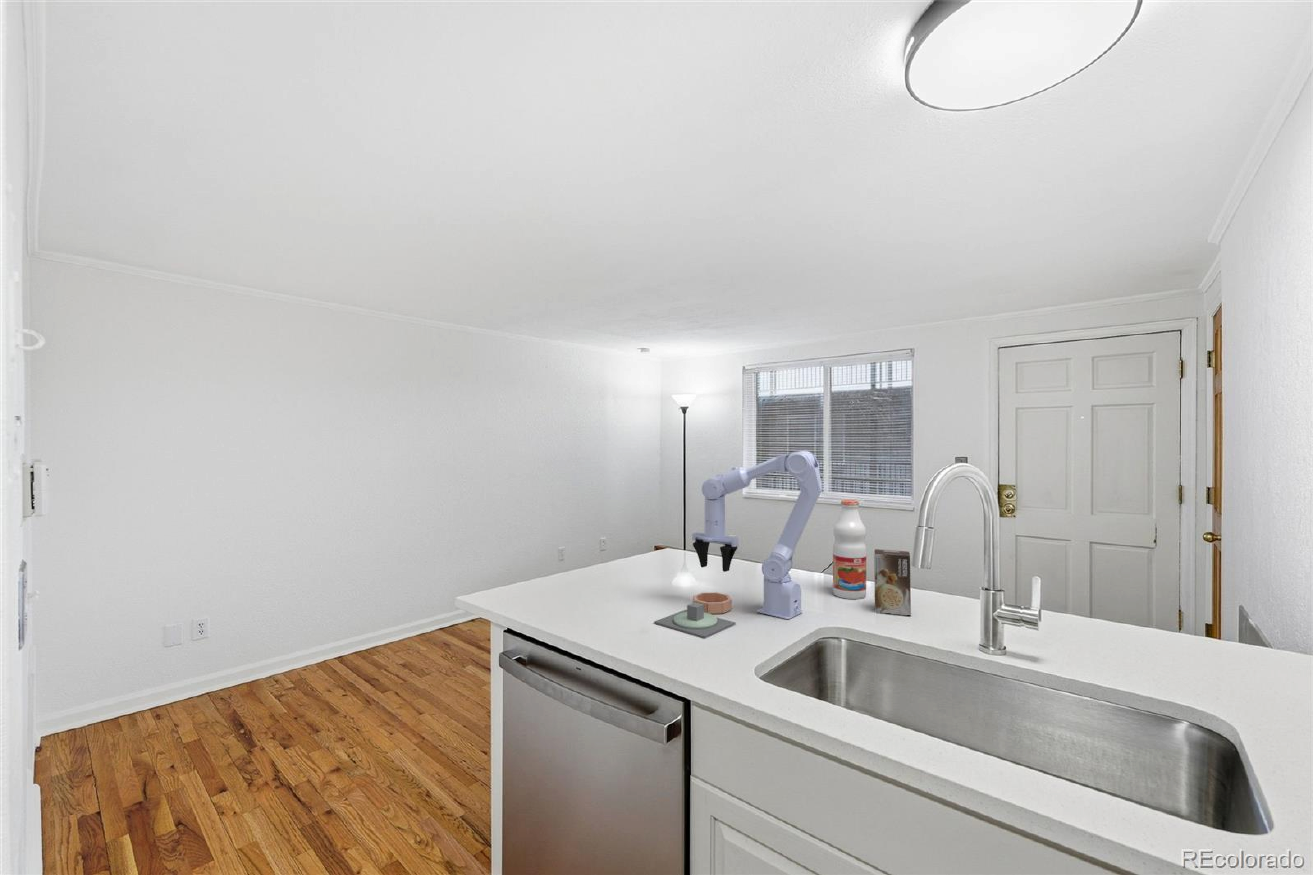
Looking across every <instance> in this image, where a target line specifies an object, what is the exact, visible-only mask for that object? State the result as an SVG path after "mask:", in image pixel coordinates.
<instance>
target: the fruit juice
mask: <svg viewBox="0 0 1313 875" xmlns="http://www.w3.org/2000/svg"><path fill="white" fill-rule="evenodd" d="M859 504H860V503H859V501H858V500H856V499H855V500H854V499H843V500H840V507H841V511H840V514H839V515H838V516H839V517H838V518H837V520H836V522H835V524H834V526H833V536H834V542H833V547H832V593H833V595H834V596H835V595H836V597H838V598H841V599H848V600H861V599H864V598H865V597H866V595H867V546H866V543H865V539H866V536H867V528H866V526H865V525H864V523H863V521H862V518H861V516H860V513H859V510H858V507H859Z"/></svg>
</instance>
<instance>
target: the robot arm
mask: <svg viewBox="0 0 1313 875" xmlns="http://www.w3.org/2000/svg"><path fill="white" fill-rule="evenodd" d="M815 456H816V455H814V454H813V452H811V451H808V450H805V449H803V450H799V451H794V452H791V453H787V454H783V455H779V456H775V457H773V458H770V459H768V460H766V461H764V462H761V463H759V464H756V465H753V466H752V467H749V468H745V467H743V466H739V467H738V466H733V467H732V468H731V470H729V471H726V472H724V473H723V474H722V472H721V473H717V474H716V477H710V478H707V480H705V481H704V482H703V484H702V485H701V493H702V495H703V497H704V533H703V532H702V533H701V532H694V533H692V537H691V538H692V539H691V540H692V541H694V542H693V543H692V547H693V548H694V550H695V551H696V554H697V557H698V559H699V564H700V567H701V568H705V567H707V566H708V555H709V554H708V553H709V547H710V543H711V544H715V545H716V544H717V545H723V546H720V547H719V550H720V553H721V561H722V564H721V566H722V572H723V573H725V572H729V571H730V568H731V565H732V561H733V557H734V555H735V553H736V551H737V549H738V547H739V539H738V538H735V537H731V536H727V535H726V502H725V501H726V500H725V498H726V495H730V494H732V493H735V492H737V491H740V490H742V489H745V488H747V487H749V486H750V484H751V482H752V481H753V480H754V479H757V478H760V477H763V476H766V475H768V474H770V473H771V474H772V473H774V472H781V473H787V472H788V473H789V474H790V475H791V477H793V478H794V479H795V480H796V483H797V485H798V487H799V488H800V489H799V490H800V492H799V495H798V497H797V499H796V501H795V504H794V506H793V508H792V510H791V511H790V512H791V513H790V514H789V516H788V518H787V521H786V523H785V525H784V528H783V530H782V533H781V534H780V537H779V539H778V541H777V543H776V544H775V546H774V548H773V550H772V552H771V553H770V556H769V557H768V558H766V559H765V560H764V561H763V562H762V564H761V572H762V575H763V607H761V608H759V609H757V610H756V611H757V613H760V614H764V615H768V616H773V617H776V618H781V619H785V620H789V619H793V618H794V617H796V616H798V615H801V614H802V613H803V610H802V588H801V585H800V584H799V583H798V582H795V581H793V580H792V577H791V574H790V573H789V572H790V571H791V570H792V568H793V558H794V555H795V553H796V552H795V551H796V548H797V545H798V543H799V541H800V539H801V536H802V534H803V532H804V530H805V528H806V526H807V524H808V521H809V519H810V517H811V514H812V512H813V510H814V509H815V506H816V504H817V502H818V500H819V497H820V495H821V493H822V490H823V487H822V480H821V473H820V463H819V461H818V460H817V458H816V457H815Z"/></svg>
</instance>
